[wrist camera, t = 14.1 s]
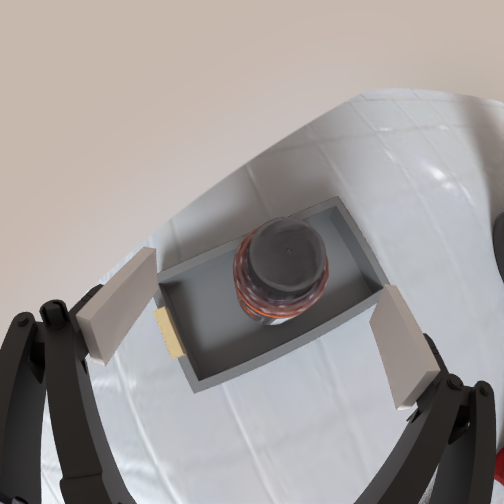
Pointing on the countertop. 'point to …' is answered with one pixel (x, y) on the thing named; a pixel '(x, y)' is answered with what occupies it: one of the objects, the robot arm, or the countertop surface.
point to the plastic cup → (499, 467)
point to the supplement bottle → (280, 270)
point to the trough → (245, 328)
